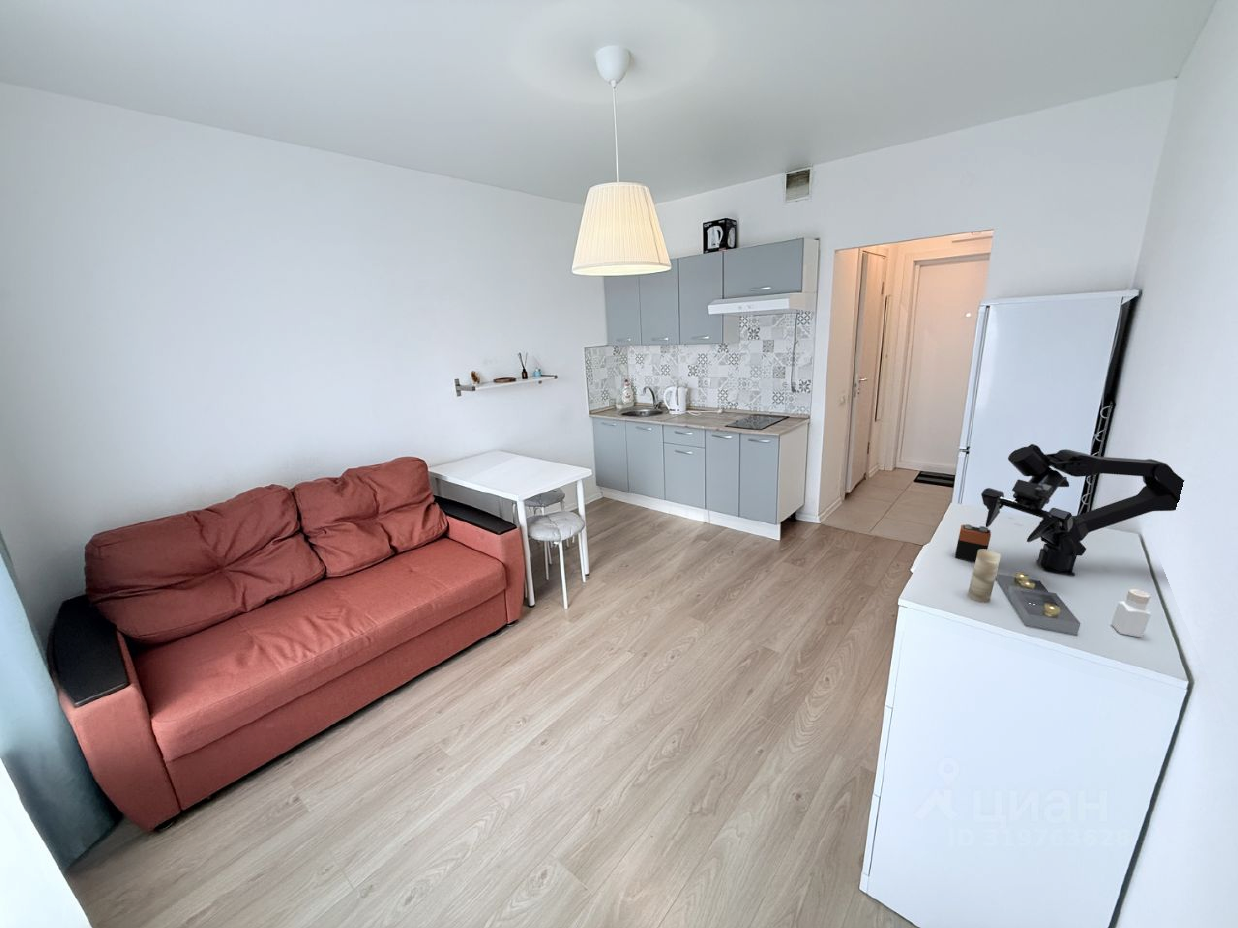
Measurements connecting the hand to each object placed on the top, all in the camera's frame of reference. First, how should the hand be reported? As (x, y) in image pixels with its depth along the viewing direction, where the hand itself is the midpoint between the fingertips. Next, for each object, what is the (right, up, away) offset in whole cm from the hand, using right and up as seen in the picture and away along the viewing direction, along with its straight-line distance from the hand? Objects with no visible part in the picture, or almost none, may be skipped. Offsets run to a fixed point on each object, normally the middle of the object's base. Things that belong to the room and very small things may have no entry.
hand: (1006, 533), depth 123 cm
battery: (+1, -9, +14) cm, 17 cm away
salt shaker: (+11, -19, -18) cm, 29 cm away
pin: (-11, -15, -6) cm, 20 cm away
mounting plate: (-1, -16, -8) cm, 18 cm away
